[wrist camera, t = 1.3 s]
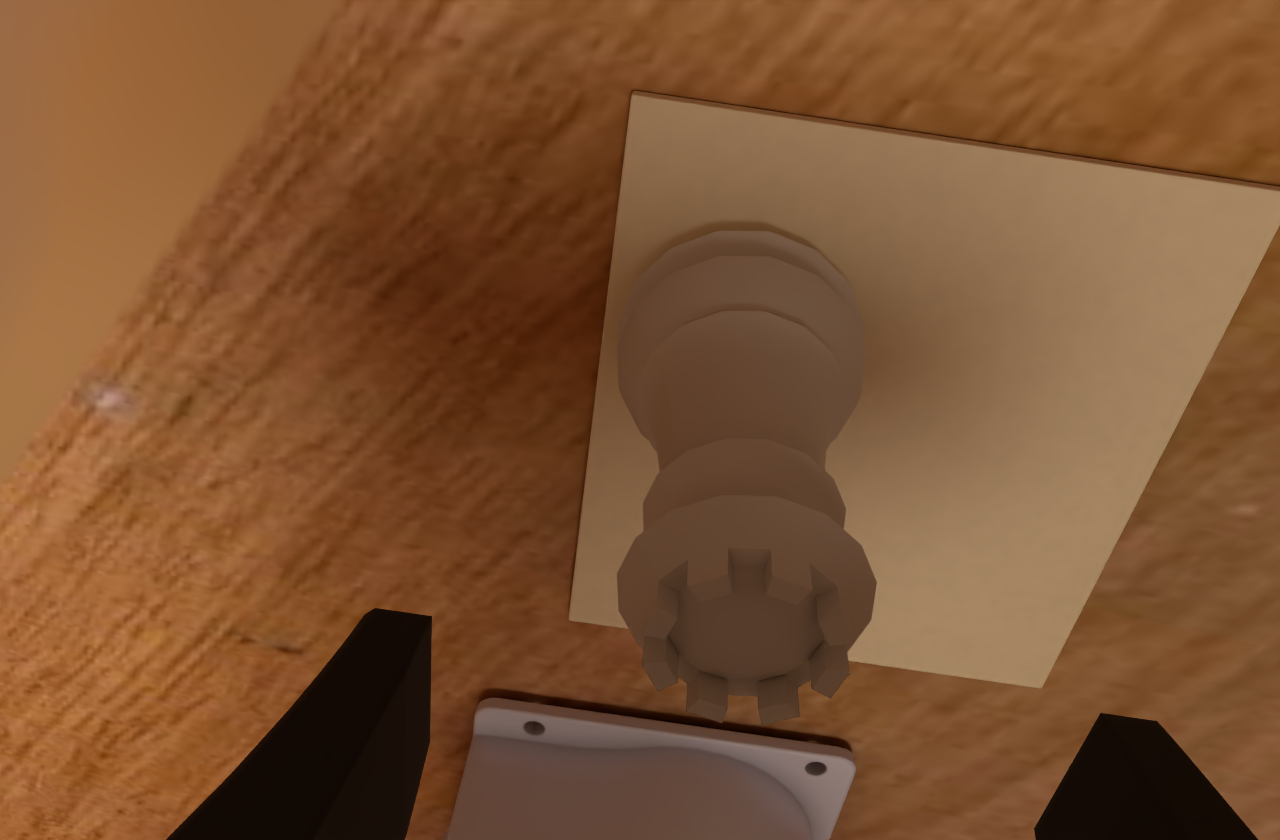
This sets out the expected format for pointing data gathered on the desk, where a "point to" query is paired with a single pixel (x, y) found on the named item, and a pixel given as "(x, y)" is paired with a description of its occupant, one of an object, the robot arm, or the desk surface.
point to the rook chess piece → (743, 472)
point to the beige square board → (948, 356)
